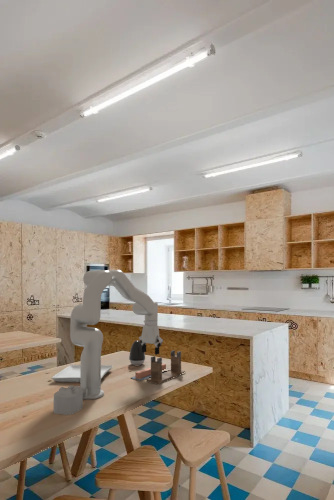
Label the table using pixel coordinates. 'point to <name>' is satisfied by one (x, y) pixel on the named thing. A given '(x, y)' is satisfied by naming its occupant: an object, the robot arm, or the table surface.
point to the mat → (141, 378)
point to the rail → (146, 372)
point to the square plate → (76, 373)
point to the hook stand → (175, 371)
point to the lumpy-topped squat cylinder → (68, 400)
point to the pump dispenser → (136, 354)
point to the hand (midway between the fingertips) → (150, 353)
